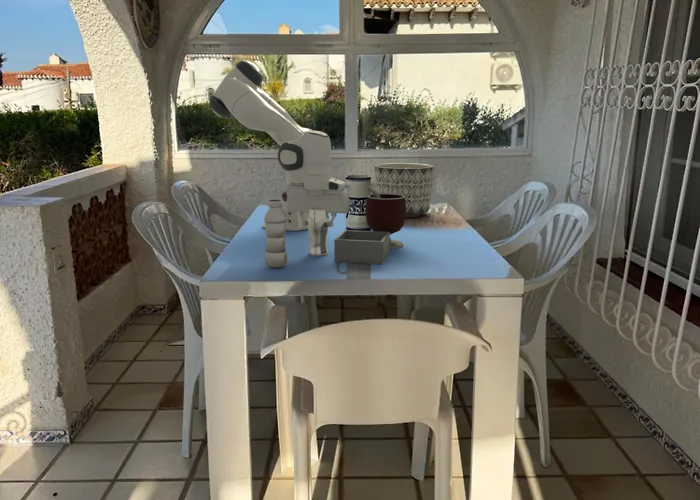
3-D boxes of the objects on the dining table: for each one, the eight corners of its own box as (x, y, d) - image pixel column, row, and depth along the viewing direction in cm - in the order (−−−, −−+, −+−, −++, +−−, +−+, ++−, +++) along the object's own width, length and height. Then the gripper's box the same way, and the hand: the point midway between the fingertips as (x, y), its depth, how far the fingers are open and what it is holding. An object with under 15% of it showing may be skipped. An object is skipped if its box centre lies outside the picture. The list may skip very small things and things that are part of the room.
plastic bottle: (265, 264, 175) (263, 198, 171) (288, 264, 176) (286, 198, 171) (264, 270, 169) (262, 202, 164) (287, 269, 170) (286, 201, 165)
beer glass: (326, 256, 185) (326, 210, 182) (305, 255, 186) (304, 209, 183) (331, 251, 192) (331, 206, 188) (310, 250, 193) (310, 205, 190)
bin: (334, 261, 179) (334, 239, 177) (344, 250, 193) (344, 230, 191) (382, 264, 176) (383, 241, 174) (389, 252, 190) (389, 231, 188)
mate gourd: (413, 245, 201) (415, 187, 197) (387, 251, 192) (388, 191, 187) (380, 238, 212) (381, 183, 207) (353, 244, 202) (353, 187, 198)
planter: (433, 211, 271) (434, 163, 266) (430, 220, 246) (432, 168, 241) (377, 209, 276) (378, 162, 270) (370, 218, 251) (370, 167, 246)
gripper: (283, 183, 183) (284, 226, 186) (346, 185, 179) (346, 229, 182) (289, 181, 189) (289, 223, 192) (350, 182, 185) (350, 225, 188)
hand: (318, 226), depth 187 cm, fingers closed on beer glass, 7 cm apart
